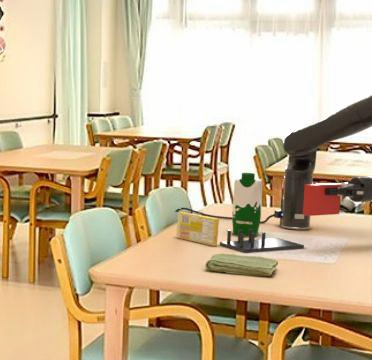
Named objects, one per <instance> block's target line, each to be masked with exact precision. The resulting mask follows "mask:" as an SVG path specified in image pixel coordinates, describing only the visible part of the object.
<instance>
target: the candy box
mask: <svg viewBox="0 0 372 360" xmlns="http://www.w3.org/2000/svg"><path fill="white" fill-rule="evenodd" d="M219 219H220V218H214V217H208V216H204V215H202V214H196V213H190V212H184V211H177V223H176V225H177V226H176V238H177V239H180V240H181V239H182V240H185V241H190V242H195V243H198V244H202V245H206V246H207V245H208V246H211V247H216V246H218V237H219V223H220V220H219Z"/></svg>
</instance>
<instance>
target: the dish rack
mask: <svg viewBox="0 0 372 360" xmlns="http://www.w3.org/2000/svg"><path fill="white" fill-rule="evenodd" d="M252 230H253V229H249V236H248V239H244V238H245V236H244V234H242V230H240V229H239V230H238V235H237V240H231V239H232V229H231V230H230V229H228V230H227V234H226V241H219V246H221V247H223V248H226V249H227V248H228V249H231V250H235V251H237V252H240V253H244V254H247V253H258V252H260V253H261V252H273V251H286V250H298V249H299V250H300V249H304V248H305V244H301V243H298V242H293V241H289V240H286V239H283V238H280V237H279V238H278V237H274V238H266V232H265V231H262V232H261V238H258V239H255V233H252Z"/></svg>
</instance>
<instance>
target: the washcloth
mask: <svg viewBox="0 0 372 360" xmlns="http://www.w3.org/2000/svg"><path fill="white" fill-rule="evenodd" d="M278 264H279V260H276V259H273V258H267V257H262V256H252V255H251V256H250V255H237V254H230V253H216V254H213V255H211V258H209V259H208V260H207V261H206V262H205V265H204V266H205V268H206V269H207V270H208V271H211V272H218V273H226V274H236V275H244V276H255V277H256V276H257V277H271V275H273V274H272V273H273V272H274V271H275V270H276V269H277V266H278Z"/></svg>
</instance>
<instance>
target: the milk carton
mask: <svg viewBox="0 0 372 360" xmlns="http://www.w3.org/2000/svg"><path fill="white" fill-rule="evenodd" d="M255 177H256V173H254V172H241V177H236V178H235V179H234V185H233V196H232V197H233V198H232V216H231V217H232V219H231V221H232V235H233V236H238V230H239V229H240V230H242V234H244V237H249V229H253V230H252V233H255V237H257V235H258V234H259V229H260V224H261V223H260V222H261V219H262V201H263V181H262V180H263V179H262V178H255Z"/></svg>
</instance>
